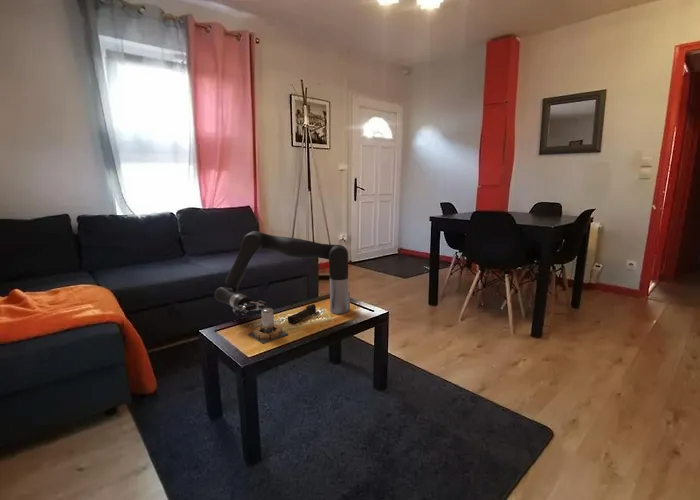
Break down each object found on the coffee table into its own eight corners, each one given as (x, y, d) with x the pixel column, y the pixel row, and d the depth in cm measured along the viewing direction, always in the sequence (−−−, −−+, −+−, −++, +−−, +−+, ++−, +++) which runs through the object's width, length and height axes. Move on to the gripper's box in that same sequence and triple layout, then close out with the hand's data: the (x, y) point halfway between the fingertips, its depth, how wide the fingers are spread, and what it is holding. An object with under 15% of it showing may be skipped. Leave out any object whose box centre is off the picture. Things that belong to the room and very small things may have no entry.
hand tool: (293, 325, 165) (293, 315, 164) (287, 323, 168) (287, 314, 167) (320, 313, 181) (319, 304, 180) (313, 311, 183) (313, 302, 182)
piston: (270, 330, 158) (269, 306, 156) (276, 333, 155) (275, 309, 153) (260, 333, 155) (258, 309, 153) (266, 336, 151) (264, 312, 149)
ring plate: (273, 327, 163) (273, 321, 163) (288, 335, 154) (287, 329, 154) (248, 334, 155) (248, 329, 155) (262, 343, 146) (262, 338, 146)
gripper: (225, 298, 165) (242, 307, 153) (254, 292, 174) (271, 299, 163) (226, 314, 166) (243, 324, 155) (255, 306, 176) (272, 315, 164)
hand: (257, 311), depth 159 cm, fingers open, 8 cm apart
